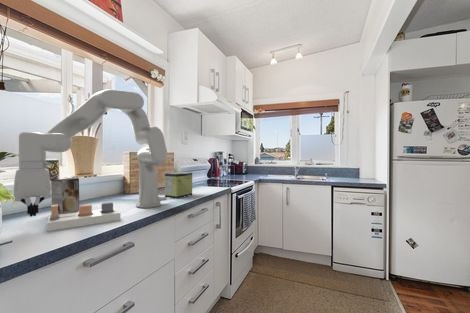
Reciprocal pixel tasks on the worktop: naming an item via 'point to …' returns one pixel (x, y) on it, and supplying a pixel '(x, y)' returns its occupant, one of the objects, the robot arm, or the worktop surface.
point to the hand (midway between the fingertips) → (33, 215)
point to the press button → (85, 210)
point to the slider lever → (54, 212)
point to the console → (82, 219)
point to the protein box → (178, 184)
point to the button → (107, 207)
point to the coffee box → (65, 194)
